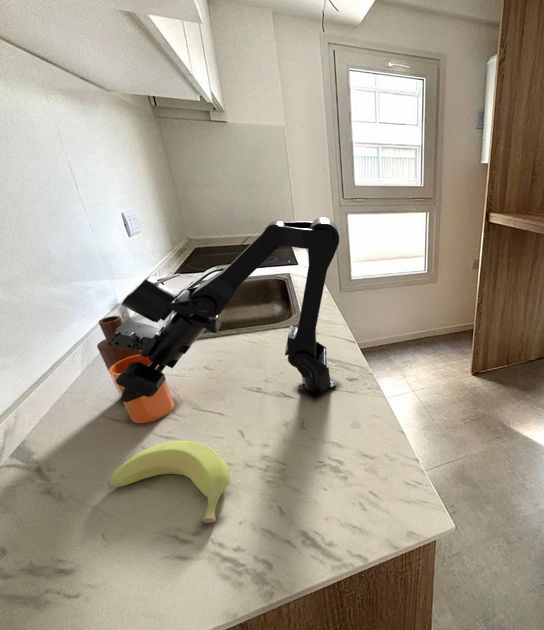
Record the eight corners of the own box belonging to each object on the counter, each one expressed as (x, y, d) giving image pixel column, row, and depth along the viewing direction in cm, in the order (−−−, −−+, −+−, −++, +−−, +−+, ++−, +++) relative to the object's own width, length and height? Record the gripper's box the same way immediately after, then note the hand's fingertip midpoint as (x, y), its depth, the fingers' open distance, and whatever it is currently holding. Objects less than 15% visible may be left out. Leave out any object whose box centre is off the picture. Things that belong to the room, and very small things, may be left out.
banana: (183, 412, 60) (239, 483, 50) (198, 428, 64) (253, 497, 54) (95, 473, 52) (140, 570, 42) (118, 487, 56) (164, 580, 46)
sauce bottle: (165, 391, 76) (136, 318, 68) (128, 408, 71) (92, 330, 63) (153, 381, 80) (124, 309, 72) (118, 395, 75) (82, 320, 67)
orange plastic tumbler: (177, 412, 70) (158, 365, 65) (132, 428, 66) (109, 379, 61) (171, 394, 75) (154, 349, 70) (130, 409, 71) (108, 362, 66)
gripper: (158, 291, 70) (116, 343, 72) (108, 333, 53) (55, 397, 56) (210, 321, 75) (169, 368, 77) (178, 367, 59) (127, 425, 61)
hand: (135, 386), depth 67 cm, fingers open, 9 cm apart
